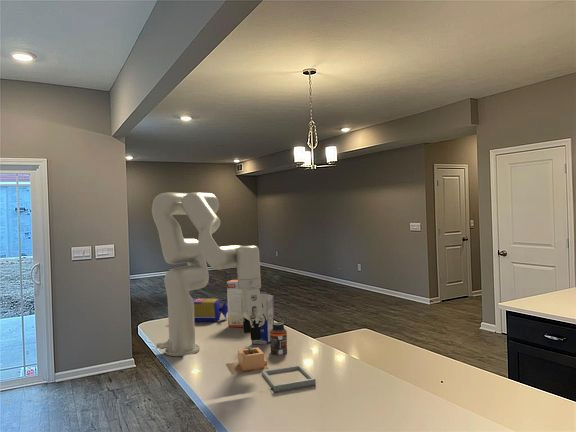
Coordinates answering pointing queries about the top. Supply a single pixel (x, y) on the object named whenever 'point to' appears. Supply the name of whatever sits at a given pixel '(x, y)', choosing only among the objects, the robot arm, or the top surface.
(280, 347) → the supplement bottle
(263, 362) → the ring
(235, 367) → the brown board with hook
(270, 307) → the milk carton
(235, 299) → the cracker box
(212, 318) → the bread
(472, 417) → the top surface
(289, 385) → the tray
